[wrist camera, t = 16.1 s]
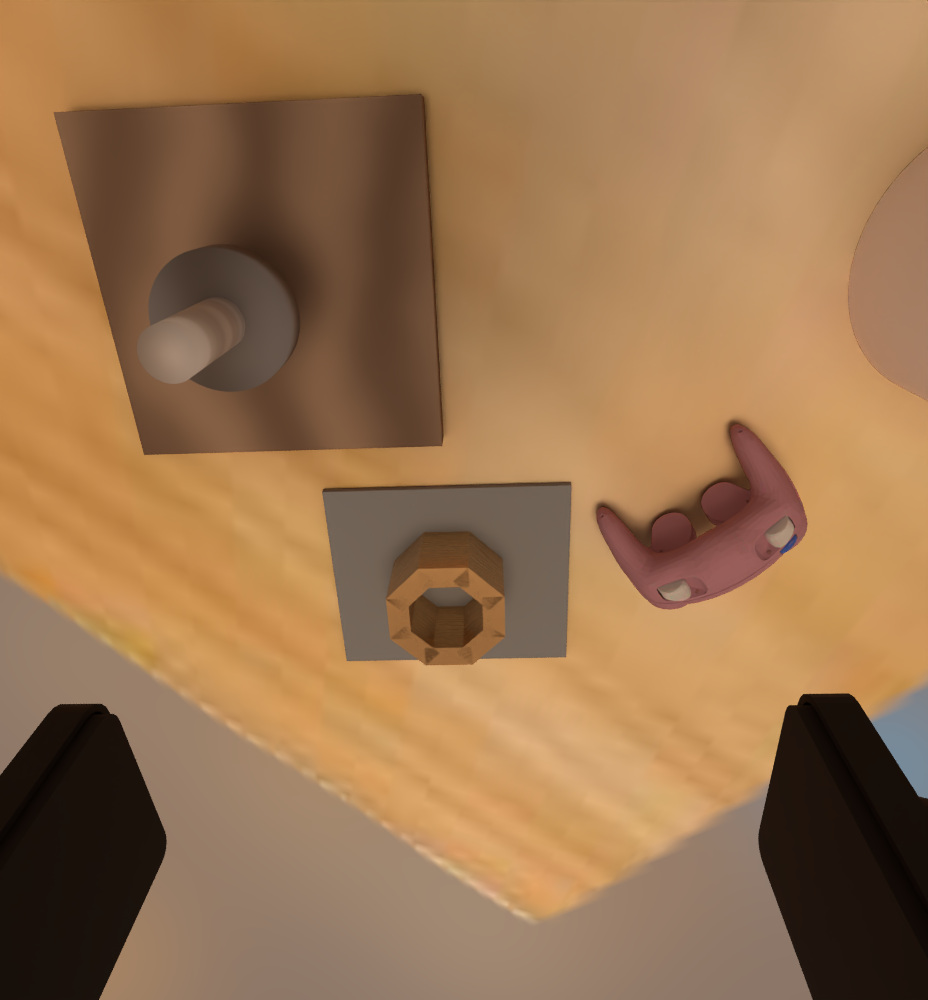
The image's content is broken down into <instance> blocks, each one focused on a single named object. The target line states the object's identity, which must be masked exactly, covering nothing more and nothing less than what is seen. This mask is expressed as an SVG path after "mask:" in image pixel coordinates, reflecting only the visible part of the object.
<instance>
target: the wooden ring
mask: <svg viewBox="0 0 928 1000" xmlns="http://www.w3.org/2000/svg"><path fill="white" fill-rule="evenodd" d="M447 587H460V588H461V589H463V590H464V591H465V592H467V593H468V594H469V595H470V596H472V597H473V599H472V600H471V601H470V602H469V603H467V604H466V605H465V606H448V607H437V606H436V605H435V604H433V603H432V602H431V601H429V600H428V599H427V598H425V597H424V596H423V595H422V594H423V593H424V592H425V591H426V590H427V589H428V588H447ZM386 606H387V615H388V624H389V633H390V639H391V640H392V641H393V642H395V643H396V644H398V645H399V646H400V647H402V648H403V649H404V650H406V651H407V652H408V653H410V654H411V655H413V656H414V657H415V658H417V659H418V660H419V661H421V662H422V663H424V664H425V665H467V664H474V663H475V662H476V661H477V660H478V659H480V658H481V657H482V656H483V655H484V654H486V653H487V652H488V651H489V650H490V649H492V648H493V647H494V646H495V645H496V644H497V643H499V642H500V641H501V640H502V639H503V638H505V595H504V577H503V559H502V558H501V557H500V556H499V555H498V554H496V553H495V552H494V551H493V550H492V549H490V548H489V547H488V546H487V545H486V544H484V543H483V542H482V541H481V540H479V539H478V538H477V537H476V536H475V535H473V534H472V533H471V532H470V531H459V532H424V533H423V534H422V535H421V536H420V537H418V538H417V539H416V540H415V541H414V542H413V543H412V544H411V545H410V546H409V547H408V548H407V549H406V550H405V551H404V552H403V553H402V554H401V555H400V556H399V557H398V558H397V559H396V560H395V561H394V565H393V569H392V574H391V578H390V583H389V587H388V592H387V596H386Z"/></svg>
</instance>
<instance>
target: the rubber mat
mask: <svg viewBox="0 0 928 1000" xmlns="http://www.w3.org/2000/svg"><path fill="white" fill-rule="evenodd" d="M322 493H323V500H324V507H325V514H326V521H327V528H328V535H329V541H330V548H331V555H332V562H333V569H334V576H335V583H336V590H337V596H338V603H339V610H340V617H341V624H342V631H343V638H344V645H345V651H346V658H347V661H376V660H418V659H417V658H415V657H414V656H413V655H411V654H410V653H408V652H407V651H406V650H404V649H403V648H402V647H400V646H399V645H398V644H396V643H395V642H393V641H392V640H391V639H390V633H389V624H388V615H387V606H386V596H387V592H388V587H389V583H390V578H391V574H392V569H393V565H394V561H395V560H396V559H397V558H398V557H399V556H400V555H401V554H402V553H403V552H404V551H405V550H406V549H407V548H408V547H409V546H410V545H411V544H412V543H413V542H414V541H415V540H416V539H417V538H418V537H420V536H421V535H422V534H423V533H424V532H459V531H470V532H471V533H472V534H473V535H475V536H476V537H477V538H478V539H479V540H481V541H482V542H483V543H484V544H486V545H487V546H488V547H489V548H490V549H492V550H493V551H494V552H495V553H496V554H498V555H499V556H500V557H501V558H502V559H503V577H504V595H505V638H503V639H502V640H501V641H500V642H499V643H497V644H496V645H495V646H494V647H493V648H492V649H490V650H489V651H488V652H487V653H486V654H484V655H483V656H482V657H481V658H480V659H489V658H545V657H566V642H567V610H568V578H569V546H570V514H571V482H564V483H527V484H491V485H454V486H418V487H381V488H345V489H324V490H323V492H322ZM422 595H423V596H424V597H425V598H427V599H428V600H429V601H431V602H432V603H433V604H435V605H436V606H437V607H448V606H465V605H466V604H467V603H469V602H470V601H471V600H472V599H473V597H472V596H470V595H469V594H468V593H467V592H465V591H464V590H463V589H461V588H460V587H447V588H428V589H427V590H426V591H425V592H424V593H423V594H422Z"/></svg>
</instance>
